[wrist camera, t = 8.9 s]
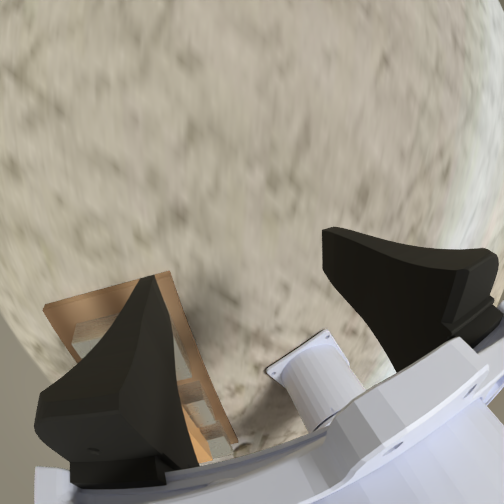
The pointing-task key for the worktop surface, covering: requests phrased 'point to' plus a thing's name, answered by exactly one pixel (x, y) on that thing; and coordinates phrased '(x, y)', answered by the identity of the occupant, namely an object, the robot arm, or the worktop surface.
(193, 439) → the tan rectangular plank
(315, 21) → the worktop surface
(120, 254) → the worktop surface
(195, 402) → the rail
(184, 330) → the rail base
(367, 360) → the worktop surface
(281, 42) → the worktop surface
